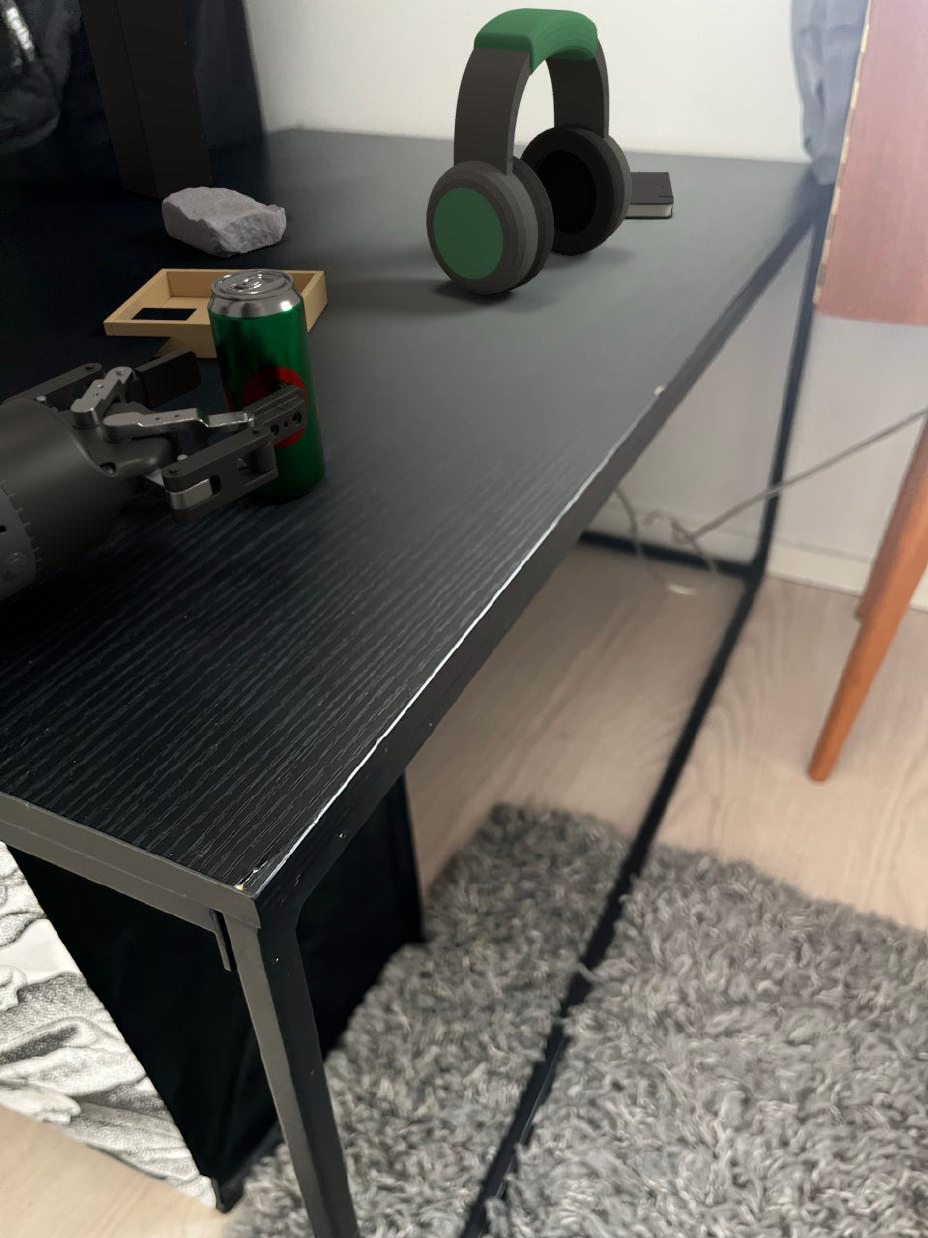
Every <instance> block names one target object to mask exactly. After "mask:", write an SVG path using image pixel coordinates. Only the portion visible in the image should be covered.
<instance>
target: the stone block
mask: <svg viewBox="0 0 928 1238" xmlns="http://www.w3.org/2000/svg"><path fill="white" fill-rule="evenodd" d="M161 213H162V218H163V219H164V226H165V231H166V232H167V234H168V235H169V236H170V237H171V238H173V239H175V240H177V239H178V241H179V240H180V241H179V242H182V243H184V244H185V245H189V246H191V247H193V248H195V249H198V250H201V251H203V252H204V253H206V254H208V255H212V256H215V255H216V256H217V257H220V258H223V259H227V258H226V257H229V258H231V257H233V256H236V255H243V254H242V253H244V254H246V253H249V252H251V251H254V250H257V249H263V248H266V247H271V246H273V244H274V245H276V244H277V243H279V242H280V241H281V240H282V238H283V235H284V233H285V230H286V227H287V216H286V210H285V208H284V207H281V206H278V205H276V204H274V203H272V204H269V205H266V204H264V203H262V202H258V201H256V200H255V199H254V198H253V197H250V196H248V195H245V194H243V193H240V192H238V191H236V190H232V189H228V188H225V187H200V188H187V189H184V190H182V191H180V192H177V193H173V194H171V195H170V196H169V197H168V198H163V201H162V203H161ZM270 245H271V246H270ZM265 246H266V247H265ZM262 247H263V248H262ZM248 251H249V252H248ZM235 254H236V255H235ZM232 255H233V256H232ZM230 256H231V257H230Z"/></svg>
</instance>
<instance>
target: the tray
mask: <svg viewBox="0 0 928 1238" xmlns="http://www.w3.org/2000/svg"><path fill="white" fill-rule="evenodd" d="M242 270H243V269H208V268H207V269H206V268H205V269H202V268H201V269H199V268H161V269H160V270H159V271H158V272H157V273H156V274H155V275H154V276H152V278H150V279H149V280H148V281H147V282H146V283H145V284H143V286H142V287H140V288H139V289H138V290H137V291H135V293H134V294H133V295H132V296H130V297H129V298H128V299H127V300H126V301H125V302H124V303H122V304H121V305H120V306H118V308H116V310H114V311H113V312H112V313H111V314H110V315H109V316H108V317H107V318H106V319H105V320H104V321H103V322H102V323H103V327H104V331H105V334H106V336H117V337H118V336H119V337H120V336H123V337H124V336H125V337H126V336H127V337H165V338H166V337H167V338H168V337H169V339H167V340H166V342H165V343H164V344H163V345H162V346H161V347H160V348H159V349H158V350H157V351H156V353H155V354H154V355H152V357H153V358H161V357H163V356H165V355H168V354H170V353H172V352H175V351H177V350H179V349H186V350H189V351H192V352H194V353H195V354H196V355H197V359H217V356H216V351H215V346H214V341H213V335H212V330H211V325H210V320H209V315H208V310H207V305H208V303H209V300H210V298H211V295H212V292H211V289H210V287H211V284H212V282H213V281H214V280H216V279H217V278H219V277H221V276H224V275H226V274H229V273H233V272H237V271H242ZM278 270H279V269H278ZM279 271H283V272H286V273H288V274H290V275H291V276H292V277H293V279H294V286H295V287H296V289H297V290H298V291H299V292H300V294H301V295H302V296H303V299H304V306H305V314H306V322H307V329H308V333H309V332H310V331H311V329H312V327H313V326H314V324H315V323H316V322H317V320H318V319H319V317H320V315H321V314H322V313H323V310H324V309H325V308H326V306H327V305H328V302H329V301H328V297H327V296H328V293H327V286H326V285H327V283H326V275H325V271H324V270H285V269H282V270H281V269H280V270H279ZM144 308H145V309H146V308H147V309H149V308H150V309H152V308H153V309H195V311H194V312H193V313H192V314H191V315H190V316H189V317H188V318H187V319H186V320H167V319H166V320H164V319H163V320H161V319H157V320H156V319H133V318H134V317H135V316H136V315H137V314H138V313H139V312H141V310H143V309H144Z"/></svg>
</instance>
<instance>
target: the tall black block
mask: <svg viewBox="0 0 928 1238" xmlns="http://www.w3.org/2000/svg"><path fill="white" fill-rule="evenodd" d="M77 1H78V5H79V10H80V14H81V19H82V23H83V27H84V31H85V35H86V39H87V43H88V47H89V53H90V56H91V60H92V64H93V69H94V72H95V77H96V81H97V86H98V90H99V94H100V99H101V103H102V106H103V112H104V116H105V119H106V125H107V128H108V132H109V137H110V140H111V145H112V150H113V153H114V158H115V161H116V165H117V170H118V175H119V178H120V182H121V187H122V188H123V189H124V190H127V191H130V192H133V193H137V194H141V195H144V196H147V197H149V198H154V199H157V200H159V199H167V198H168V197H169V196H170V195H171V194H173V193H177V192H180V191H182V190H184V189H187V188H200V187H208V188H210V187H212V186H214V185H215V183H214V177H213V171H212V166H211V160H210V155H209V150H208V144H207V139H206V133H205V127H204V122H203V117H202V111H201V105H200V100H199V99H200V98H199V94H198V90H197V89H198V88H197V83H196V78H195V72H194V67H193V61H192V55H191V50H190V44H189V38H188V33H187V27H186V21H185V17H184V16H185V15H184V11H183V5H182V0H77Z"/></svg>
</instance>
